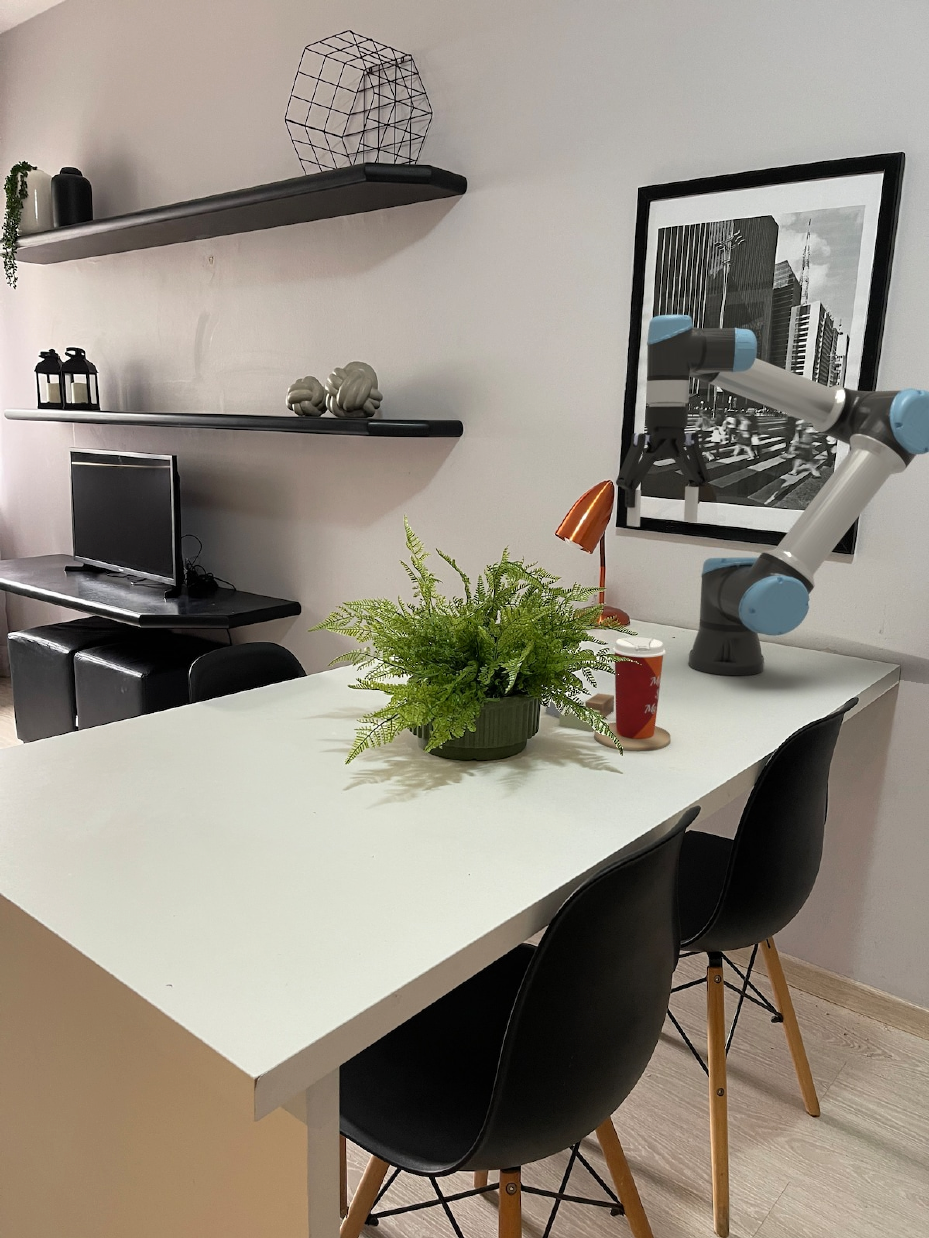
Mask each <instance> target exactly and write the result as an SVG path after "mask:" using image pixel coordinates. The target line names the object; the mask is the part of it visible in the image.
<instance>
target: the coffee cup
mask: <svg viewBox="0 0 929 1238" xmlns="http://www.w3.org/2000/svg"><path fill="white" fill-rule="evenodd" d="M612 652H614V657H615V656H619V657H626V658H629V659H631V660H633V661H637V662H638V663H640V664H642V665H640V664H637V663H635V662H631V661H620V662H615V661H614V676H615V677H614V679H615V681H614V682H615V689H614V690H615V695H614V699H615V722H616V731H617V734H619V735H620V736H623V737H626V738H632V739H645V738H650V737H652V736H653V735H654V730H655V726H656V722H657V714H658V713H657V712H658V705H659V704H658V703H659V696H660V689H661V678H662V669H663V661H664V660H663V659H664V655H666V653H667V652H666V650H665V647H664V643H663V642H662V641H661V640H659V639H654V638H650V637H649V638H648V637H641V636H639V637H636V636H635V637H633V636H631V637H630V636H629V637H623V638H618V639H617V640H616V641H615V645H614V647H613V648H612ZM615 673H616V674H619V675H615Z"/></svg>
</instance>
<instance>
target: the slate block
mask: <svg viewBox="0 0 929 1238" xmlns="http://www.w3.org/2000/svg"><path fill="white" fill-rule="evenodd" d="M577 701H578V702H581V703H582V705H583V706H584V702H583V701H581V700H577ZM545 714H547V715H550V716H553V717H556V718H558V719H559V714H560V712H559V711H558V710H557V709H556V707H555V704H554V703H553V702H550V708H546V707H545Z"/></svg>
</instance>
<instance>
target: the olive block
mask: <svg viewBox="0 0 929 1238" xmlns="http://www.w3.org/2000/svg"><path fill="white" fill-rule="evenodd" d="M592 710H593V709H592ZM593 711H594V712H598V713H599V714H600V711H598V710H593ZM558 719H559V720H558V721H559V722H558V723H559V724H558V726H560V727H565V728H569V729H576V730H580V731H586V732H590V733H593V732H595V730H594V729H593V728H592V726H590V725H589V723H587V722H583V721H582V720H580V719H578V718H577V717H576V716H575V715H574V714H573V713H572V712H571V713H570V714H569V715H567V716H564V715H562V714H561V712H560V714H559V718H558Z"/></svg>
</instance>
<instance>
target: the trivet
mask: <svg viewBox="0 0 929 1238" xmlns="http://www.w3.org/2000/svg"><path fill="white" fill-rule="evenodd" d="M607 724H608V726H609V729H610V730H611V732H613V734H614V735H615V736H616V738H617V739H618V740H619V743H620V744H621V746H622V747H623V751H631V752H647V751H648V752H649V751H657V750H659V749H663V748H665V747H667V746H668V745H669V744H671V734H670V732H669V731H667V730H666V729H664V728H663V727H659V726H656V725H655V730H654V735H653V736H652V737H650V738H645V739H632V738H626V737H623V736H620V735H619V734H617V731H616V721H615V722H609V723H607ZM593 732H594V740H596V742H597V743H598V744H601V745H603V746H605V747H609V748H611V749H616V750H618V749H617V747H616V744H615V743H614V742H613V740H612V739H611V738H610V737H609V736H607V735H602V734H599V733H598V732H596V730H594V731H593Z"/></svg>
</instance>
